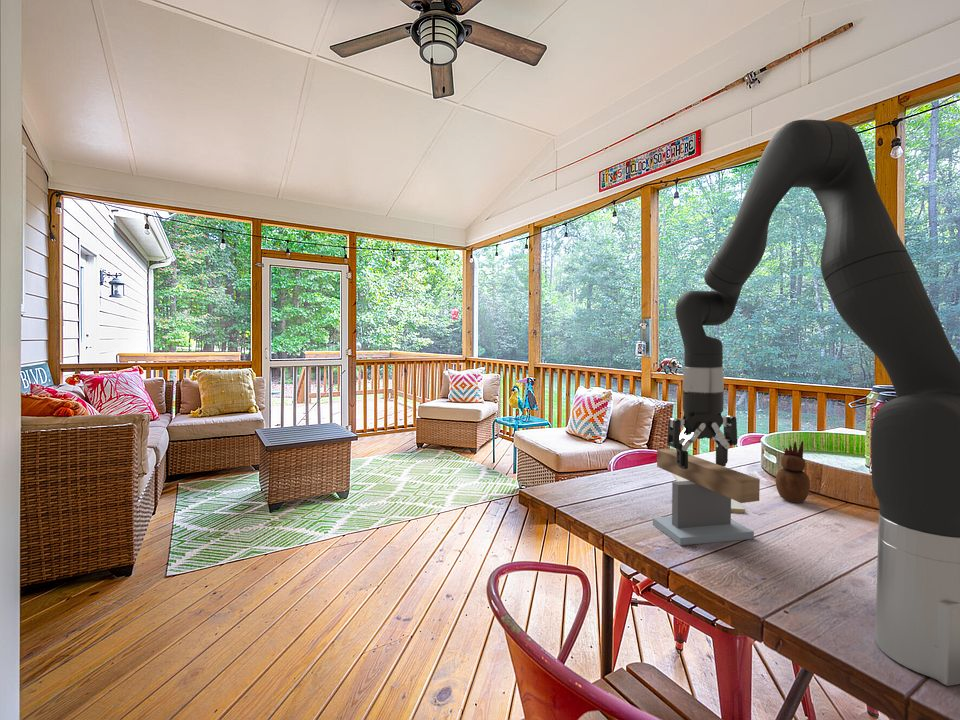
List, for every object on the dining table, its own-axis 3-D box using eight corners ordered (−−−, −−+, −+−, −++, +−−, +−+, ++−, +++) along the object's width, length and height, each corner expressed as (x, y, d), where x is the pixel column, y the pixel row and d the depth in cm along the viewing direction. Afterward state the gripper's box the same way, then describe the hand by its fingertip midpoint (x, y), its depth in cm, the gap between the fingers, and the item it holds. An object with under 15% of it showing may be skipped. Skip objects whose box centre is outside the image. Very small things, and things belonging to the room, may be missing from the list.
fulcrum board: (753, 538, 90) (754, 487, 89) (680, 545, 87) (680, 492, 87) (719, 518, 99) (720, 472, 99) (652, 524, 97) (653, 476, 97)
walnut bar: (657, 466, 104) (657, 449, 104) (671, 465, 105) (672, 448, 105) (741, 503, 81) (741, 481, 80) (759, 500, 82) (759, 479, 81)
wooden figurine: (814, 503, 108) (815, 441, 107) (798, 506, 106) (799, 443, 105) (786, 494, 114) (787, 436, 114) (770, 497, 112) (771, 438, 112)
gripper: (721, 385, 97) (720, 460, 97) (660, 387, 94) (660, 463, 95) (747, 389, 89) (746, 470, 90) (681, 392, 87) (681, 474, 88)
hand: (701, 466), depth 93 cm, fingers open, 8 cm apart
